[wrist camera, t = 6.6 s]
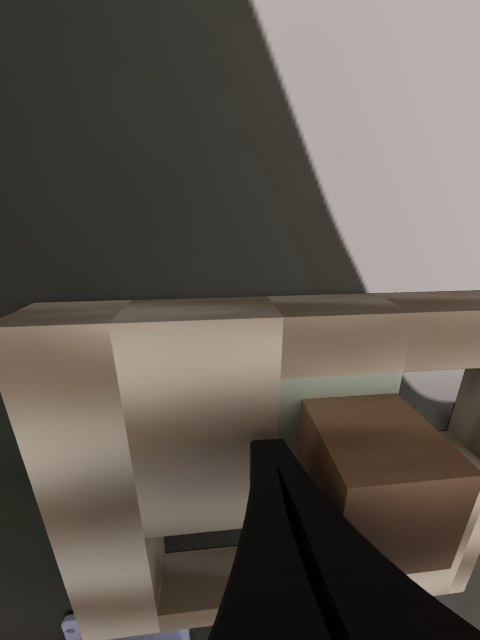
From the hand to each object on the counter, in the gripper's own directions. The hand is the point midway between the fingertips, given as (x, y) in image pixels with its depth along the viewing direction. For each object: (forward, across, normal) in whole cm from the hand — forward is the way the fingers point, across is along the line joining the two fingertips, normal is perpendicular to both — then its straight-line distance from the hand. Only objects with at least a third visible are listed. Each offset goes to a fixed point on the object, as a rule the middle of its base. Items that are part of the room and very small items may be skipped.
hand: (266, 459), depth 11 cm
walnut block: (+1, -4, 0) cm, 4 cm away
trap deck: (+4, -2, +4) cm, 5 cm away
